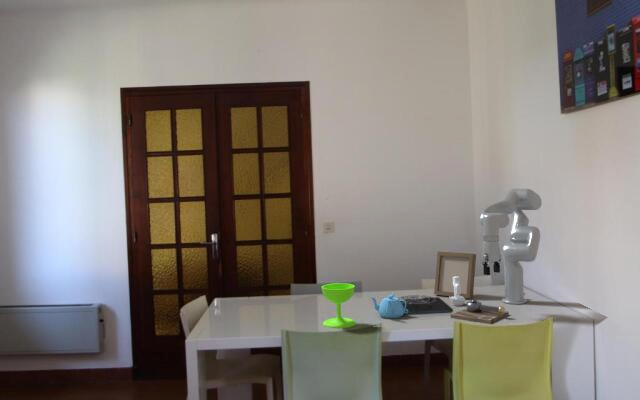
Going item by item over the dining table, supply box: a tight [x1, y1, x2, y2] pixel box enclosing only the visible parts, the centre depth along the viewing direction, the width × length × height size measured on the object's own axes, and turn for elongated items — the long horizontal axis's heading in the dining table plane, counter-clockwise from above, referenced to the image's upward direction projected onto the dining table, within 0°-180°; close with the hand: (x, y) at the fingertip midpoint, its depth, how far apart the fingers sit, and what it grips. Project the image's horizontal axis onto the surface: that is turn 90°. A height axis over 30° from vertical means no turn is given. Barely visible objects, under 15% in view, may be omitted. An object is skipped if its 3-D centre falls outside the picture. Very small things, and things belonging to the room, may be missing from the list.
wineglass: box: [321, 282, 357, 329], centre depth 268 cm, size 16×16×18 cm
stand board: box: [450, 307, 510, 325], centre depth 273 cm, size 21×20×2 cm
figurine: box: [448, 276, 466, 307], centre depth 299 cm, size 7×9×15 cm
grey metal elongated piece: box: [466, 299, 506, 313], centre depth 274 cm, size 19×7×5 cm, turn 48°
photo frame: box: [433, 251, 477, 300], centre depth 322 cm, size 15×22×25 cm
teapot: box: [369, 291, 409, 319], centre depth 280 cm, size 15×15×10 cm
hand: (491, 273), depth 278 cm, fingers open, 9 cm apart
